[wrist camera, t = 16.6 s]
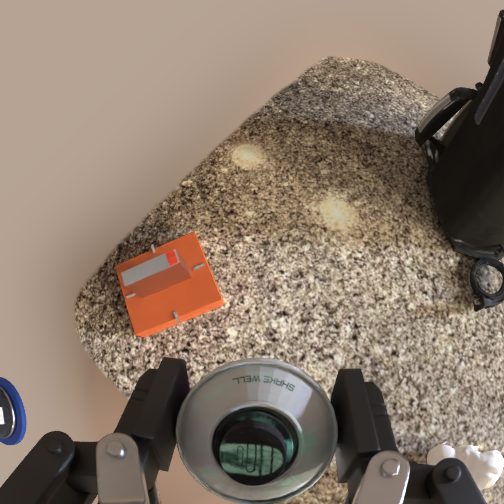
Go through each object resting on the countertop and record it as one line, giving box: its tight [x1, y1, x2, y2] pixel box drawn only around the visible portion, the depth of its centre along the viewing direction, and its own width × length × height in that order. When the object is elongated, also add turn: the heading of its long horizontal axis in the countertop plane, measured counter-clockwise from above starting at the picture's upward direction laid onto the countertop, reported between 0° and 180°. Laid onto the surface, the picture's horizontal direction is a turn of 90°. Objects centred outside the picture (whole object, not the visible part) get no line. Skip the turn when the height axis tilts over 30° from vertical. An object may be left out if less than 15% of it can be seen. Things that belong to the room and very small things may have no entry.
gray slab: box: [121, 249, 191, 298], centre depth 35 cm, size 7×2×6 cm, turn 114°
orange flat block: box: [116, 232, 225, 337], centre depth 39 cm, size 12×11×3 cm
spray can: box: [176, 358, 338, 504], centre depth 16 cm, size 6×6×20 cm
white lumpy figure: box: [427, 441, 504, 490], centre depth 26 cm, size 6×8×12 cm
